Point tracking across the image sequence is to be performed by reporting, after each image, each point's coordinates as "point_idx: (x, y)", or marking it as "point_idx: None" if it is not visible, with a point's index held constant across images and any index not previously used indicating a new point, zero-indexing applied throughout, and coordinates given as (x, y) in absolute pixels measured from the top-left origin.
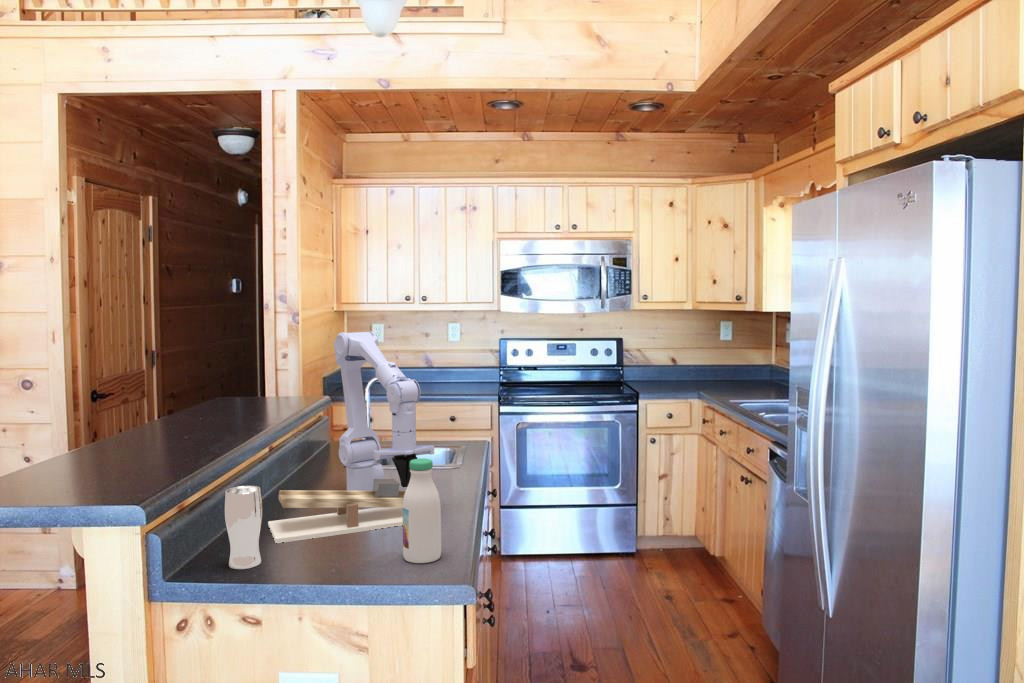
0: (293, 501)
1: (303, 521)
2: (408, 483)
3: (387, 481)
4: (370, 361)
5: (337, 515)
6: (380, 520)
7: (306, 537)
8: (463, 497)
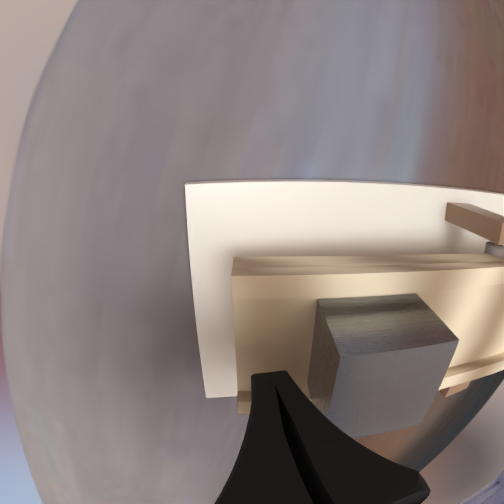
0: None
1: None
2: (259, 384)
3: (386, 395)
4: None
5: None
6: (373, 237)
7: None
8: (35, 400)
